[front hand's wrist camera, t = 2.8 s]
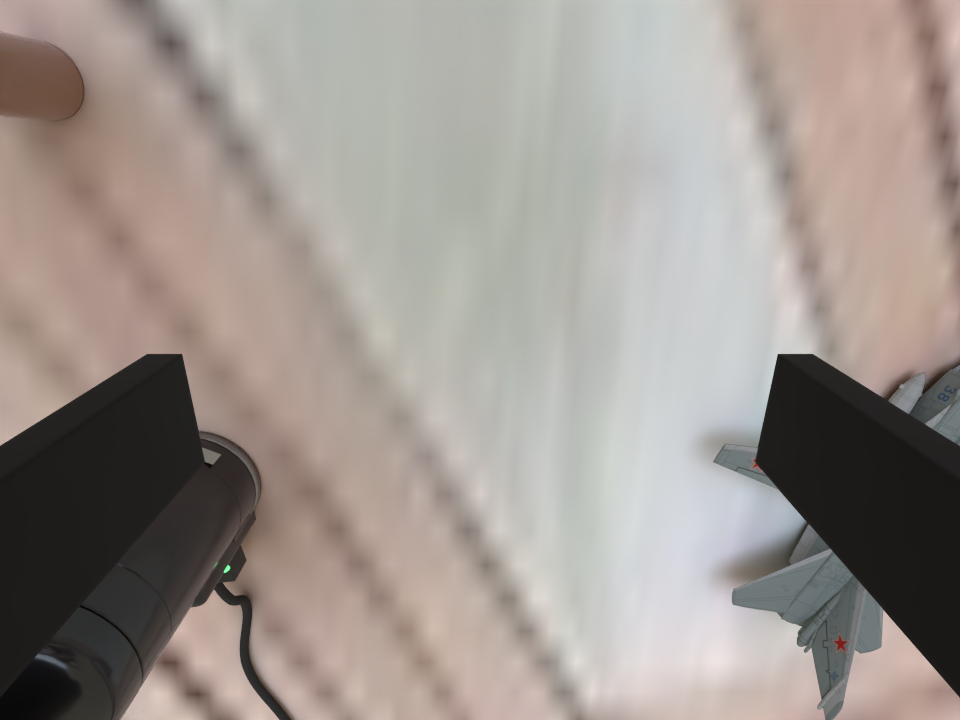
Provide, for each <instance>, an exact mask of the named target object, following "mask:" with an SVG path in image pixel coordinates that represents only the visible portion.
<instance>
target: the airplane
mask: <svg viewBox="0 0 960 720" xmlns="http://www.w3.org/2000/svg"><path fill="white" fill-rule="evenodd" d="M924 384H925V372H923V373H919V374H917V375H915V376H913V377H912V378H910V379H909V380H908V381H906V382H905V383H904V384H901V385H900V386H899V389H898V390H897V391H896V392H895V393H894V394H893V395H892V397H891V398H890V399H889V400H888V401H889V402H890V403H892V404H893V405H895V406H897V407H898V408H900V409H901V410H903V411H905V412H906V413H908V414H909V415H911V416H913V417H914V418H916V419H917V420H919V421H921V422H922V423H924V424H926V425H927V426H929V427H930V428H932V429H934V430H935V431H937V432H938V433H940V434H942V435H943V436H945V437H946V438H948V439H950V440H951V441H953V442H954V443H956V444H958V445H959V446H960V365H959V366H957V367H956V368H954V369H952V370H949V371H948V372H947V373H946V374H945V375H944V376H943V377H942V378H940V379H939V380H938V381H937V382H936V383H935V384H934V385H933V386H932V387H931V388H930V389H928V390H927V391H926V392H925V393H924V394H922V391H923V387H924ZM922 395H923V396H922ZM921 396H922V397H921ZM919 397H921V398H920V399H919V401H918V402H917V400H918V398H919ZM916 402H917V403H916ZM914 405H915V406H914ZM757 450H758V448H757V447H749V446H740V445H732V444H725V445H724V446H723V447H722V449H721V450H720V452H719V453H718V455H717V456H716V458H715V460H714V463H717V464H719V465H721V466H724V467H726V468H729V469H731V470H733V471H736V472H738V473H741V474H743V475H745V476H748V477H750V478H753V479H755V480H757V481H760V482H762V483H765V484H767V485H769V486H772V487H774V488H777V487H776V486H775V485H774V483H773V482H772V481H771V480H770V479H769V478H768V477H767V475H766V474H765V473H764V472H763V471H762V470H761V469H760V467H759V466H758V465H757V464H756V463H755V459H756V455H757ZM777 489H778V488H777ZM789 562H790V564H791V565H790V566H788V567H785V568H783V569H781V570H778V571H776V572H773V573H771V574H769V575H766V576H764V577H761V578H759V579H757V580H754V581H752V582H749V583H747V584H745V585H742V586H740V587H738V588H735V589H734V590H733V593H732V603H733V605H737V606H742V607H747V608H753V609H760V610H767V611H774V612H777V613H778V614H779V615H780V616H781V617H782V618H781V619H784V620H786V621H787V622H790V623H793V624H797V625H800V626H802V628H801V629H800V630H799V632H798V635H799V636H798V637H797V645H798V646H800V647H803V646H807V647H806V648H805V649H804V652H805V653H806V652H807V651H808V650H809V649H810V648H811V647H812V652H813V658H814V663H815V668H816V673H817V678H818V683H819V688H820V693H821V699H822V700H821V702H820V703H819V704H818V706H817V708H818V709H822V708H823V709H824V714H825V719H826V720H833V719H834V718H835V717H836V716H837V714H838V713H839V712H840V710H841V709H842V706H843V702H844V697H845V691H846V686H847V682H848V677H849V673H850V669H851V664H852V660H853V655H854V651H855V650H856V651H858V652H859V653H866V652H871V651H874V650H877V649H879V648H880V647H881V645H882V624H883V609H882V607H881V606H880V605H879V604H878V603H877V602H876V601H875V599H874V598H873V597H872V596H871V595H870V594H869V593H868V591H867V590H866V589H865V588H864V587H863V586H862V585H861V583H860V582H859V581H858V580H857V579H856V578H855V576H854V575H853V574H852V573H851V572H850V571H849V570H848V568H847V567H846V566H845V565H844V564H843V563H842V562H841V560H840V559H839V558H838V557H837V556H836V555H835V554H834V552H833V551H832V550H831V549H830V548H829V547H828V545H827V544H826V543H825V542H824V541H823V540H822V539H821V537H820V536H819V535H818V534H817V533H816V532H815V531H814V529H813V528H812V527H811V526H810V525H809V524H808V526H807V528H806V530H805V532H804V533H803V535H802V537H801V539H800V541H799V543H798V544H797V546H796V548H795V550H794V552H793V553H792V555H791V557H790V559H789Z"/></svg>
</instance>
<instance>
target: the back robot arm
mask: <svg viewBox="0 0 960 720" xmlns="http://www.w3.org/2000/svg"><path fill="white" fill-rule="evenodd" d="M199 436H200V440H201V445H202V450H203V455H204V459H205V463H204V464H203V465H202V466H201V467H200V469H199V470H198V471H197V472H196V473H195V474H194V475H193V477H192V478H191V479H190V480H189V481H188V482H187V483H186V485H185V486H184V487H183V488H182V489H181V490H180V491H179V493H178V494H177V495H176V496H175V497H174V498H173V500H172V501H171V502H170V503H169V504H168V505H167V506H166V508H165V509H164V510H163V511H162V512H161V513H160V514H159V516H158V517H157V518H156V519H155V520H154V521H153V523H152V524H151V525H150V526H149V527H148V528H147V529H146V531H145V532H144V533H143V534H142V535H141V536H140V537H139V539H138V540H137V541H136V542H135V543H134V544H133V545H132V547H131V548H130V549H129V550H128V551H127V552H126V554H125V555H124V556H123V557H122V558H121V559H120V560H119V562H118V563H117V564H116V565H115V566H114V567H113V568H112V570H111V571H110V572H109V573H108V574H107V575H106V576H105V578H104V579H103V580H102V581H101V582H100V583H99V585H98V586H97V587H96V588H95V589H94V590H93V591H92V593H91V594H90V595H89V596H88V597H87V598H86V599H85V601H84V602H83V603H82V604H81V605H80V606H79V607H78V609H77V610H76V611H75V612H74V613H73V614H72V616H71V617H70V618H69V619H68V620H67V621H66V622H65V624H64V625H63V626H62V627H61V628H60V629H59V630H58V632H57V633H56V634H55V635H54V636H53V637H52V638H51V640H50V641H49V642H48V643H47V644H46V645H45V647H44V648H43V649H42V650H41V651H40V652H39V653H38V655H37V656H36V657H35V658H34V659H33V660H32V661H31V663H30V664H29V665H28V666H27V667H26V668H25V669H24V671H23V672H22V673H21V674H20V675H19V676H18V678H17V679H16V680H15V681H14V682H13V683H12V684H11V686H10V687H9V688H8V689H7V690H6V691H5V692H4V694H3V695H2V696H1V697H0V720H121V719H122V717H123V715H124V714H125V712H126V711H127V709H128V707H129V706H130V704H131V703H132V701H133V699H134V698H135V696H136V695H137V693H138V691H139V689H140V688H141V686H142V684H143V683H144V681H145V680H146V678H147V676H148V675H149V673H150V672H151V670H152V668H153V667H154V665H155V664H156V662H157V660H158V659H159V657H160V656H161V654H162V652H163V651H164V649H165V647H166V646H167V644H168V643H169V641H170V639H171V638H172V636H173V635H174V633H175V631H176V630H177V628H178V627H179V625H180V623H181V622H182V620H183V619H184V617H185V615H186V614H187V612H188V611H189V609H190V608H191V607H197V606H201V605H203V604H204V603H205V602H206V601H207V599H208V598H209V596H210V594H211V593H212V591H213V589H214V590H215V591H216V592H217V594H218V595H219V596H220V597H221V598H222V599H223V600H224V601H225V602H226V603H228V604H229V605H241V607H242V611H243V623H242V631H241V638H240V658H241V663H242V667H243V670H244V672H245V674H246V676H247V678H248V680H249V682H250V684H251V685H252V687H253V688H254V689H255V691H256V692H257V693H258V695H259V696H260V697H261V698H262V699H263V701H264V702H265V703H266V704H267V705H268V706H269V707H270V709H271V710H272V711H273V712H274V713H275V715H276V716H277V717H278V718H279V720H291V719H290V718H289V717H288V715H287V714H286V713H285V711H284V710H283V709H282V708H281V706H280V705H279V704H278V703H277V702H276V700H275V699H274V698H273V697H272V696H271V695H270V693H269V692H268V691H267V690H266V689H265V687H264V686H263V685H262V683H261V682H260V680H259V679H258V677H257V675H256V674H255V671H254V669H253V667H252V665H251V661H250V658H249V648H248V645H249V633H250V626H251V617H252V608H251V604H250V601H249V599H248V598H247V597H246V596H243V595H239V596H234V595H233V594H232V593H231V592H229V590H228V589H227V588H226V587H225V586H224V584H223V583H222V582H230V581H235V580H236V578H237V576H238V575H239V573H240V571H241V569H242V567H243V566H244V564H245V562H246V558H245V555H244V552H243V550H242V547H241V543H242V541H243V540H244V538H245V536H246V535H247V533H248V531H249V530H250V528H251V526H252V525H253V523H254V521H255V520H256V518H255V515H254V511H253V510H254V509H255V507H256V505H257V503H258V501H259V498H260V493H261V484H260V478H259V475H258V472H257V470H256V468H255V466H254V464H253V463H252V461H251V460H250V459H249V457H248V456H247V455H246V454H245V453H244V452H243V451H242V450H241V449H240V448H238V447H237V446H236V445H234V444H233V443H231V442H229V441H227V440H226V439H223V438H221V437H219V436H216V435H213V434H209V433H203V432H199Z"/></svg>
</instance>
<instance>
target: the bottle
mask: <svg viewBox="0 0 960 720" xmlns="http://www.w3.org/2000/svg"><path fill="white" fill-rule="evenodd" d="M83 92H84V91H83V82H82V79H81V76H80V73H79V71H78V69H77V67H76V66H75V64H74V63H73V61H72V60H71V59H70V58H69V57H68V56H67V55H66V54H65V53H64V52H63V51H62V50H60V49H59V48H57V47H56V46H54V45H52V44H49V43H46V42H43V41H38V40H34V39H30V38H26V37H22V36H18V35H13V34H9V33H5V32H1V31H0V117H13V118H29V119H45V120H63V119H66V118H69V117H70V116H72V115H73V114H75V113H76V112H77V110H78V109H79V107H80V106H81V103H82V100H83Z"/></svg>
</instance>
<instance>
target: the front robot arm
mask: <svg viewBox="0 0 960 720" xmlns="http://www.w3.org/2000/svg"><path fill="white" fill-rule="evenodd" d="M204 463H205V459H204V455H203V450H202V445H201V440H200V436H199V431H198V426H197V422H196V417H195V412H194V408H193V403H192V398H191V394H190V389H189V384H188V380H187V375H186V370H185V366H184V361H183V356H182V354H147V355H145V356H143V357H142V358H140V359H139V360H137V361H135V362H134V363H132V364H131V365H129V366H127V367H126V368H124V369H123V370H121V371H119V372H118V373H116V374H115V375H113V376H111V377H110V378H108V379H107V380H105V381H103V382H102V383H100V384H99V385H97V386H95V387H94V388H92V389H91V390H89V391H87V392H86V393H84V394H83V395H81V396H79V397H78V398H76V399H75V400H73V401H71V402H70V403H68V404H67V405H65V406H63V407H62V408H60V409H59V410H57V411H55V412H54V413H52V414H51V415H49V416H47V417H46V418H44V419H43V420H41V421H39V422H38V423H36V424H35V425H33V426H31V427H30V428H28V429H26V430H25V431H23V432H22V433H20V434H18V435H17V436H15V437H14V438H12V439H10V440H9V441H7V442H6V443H4V444H2V445H1V446H0V697H1V696H2V695H3V694H4V692H5V691H6V690H7V689H8V688H9V687H10V686H11V684H12V683H13V682H14V681H15V680H16V679H17V678H18V676H19V675H20V674H21V673H22V672H23V671H24V669H25V668H26V667H27V666H28V665H29V664H30V663H31V661H32V660H33V659H34V658H35V657H36V656H37V655H38V653H39V652H40V651H41V650H42V649H43V648H44V647H45V645H46V644H47V643H48V642H49V641H50V640H51V638H52V637H53V636H54V635H55V634H56V633H57V632H58V630H59V629H60V628H61V627H62V626H63V625H64V624H65V622H66V621H67V620H68V619H69V618H70V617H71V616H72V614H73V613H74V612H75V611H76V610H77V609H78V607H79V606H80V605H81V604H82V603H83V602H84V601H85V599H86V598H87V597H88V596H89V595H90V594H91V593H92V591H93V590H94V589H95V588H96V587H97V586H98V585H99V583H100V582H101V581H102V580H103V579H104V578H105V576H106V575H107V574H108V573H109V572H110V571H111V570H112V568H113V567H114V566H115V565H116V564H117V563H118V562H119V560H120V559H121V558H122V557H123V556H124V555H125V554H126V552H127V551H128V550H129V549H130V548H131V547H132V545H133V544H134V543H135V542H136V541H137V540H138V539H139V537H140V536H141V535H142V534H143V533H144V532H145V531H146V529H147V528H148V527H149V526H150V525H151V524H152V523H153V521H154V520H155V519H156V518H157V517H158V516H159V514H160V513H161V512H162V511H163V510H164V509H165V508H166V506H167V505H168V504H169V503H170V502H171V501H172V500H173V498H174V497H175V496H176V495H177V494H178V493H179V491H180V490H181V489H182V488H183V487H184V486H185V485H186V483H187V482H188V481H189V480H190V479H191V478H192V477H193V475H194V474H195V473H196V472H197V471H198V470H199V469H200V467H201V466H202V465H203V464H204ZM755 463H756V464H757V465H758V466H759V467H760V469H761V470H762V471H763V472H764V473H765V474H766V475H767V477H768V478H769V479H770V480H771V481H772V482H773V483H774V485H775V486H776V487H777V488H778V489H779V490H780V491H781V493H782V494H783V495H784V496H785V497H786V498H787V500H788V501H789V502H790V503H791V504H792V505H793V506H794V508H795V509H796V510H797V511H798V512H799V513H800V514H801V516H802V517H803V518H804V519H805V520H806V521H807V523H808V524H809V525H810V526H811V527H812V528H813V529H814V531H815V532H816V533H817V534H818V535H819V536H820V537H821V539H822V540H823V541H824V542H825V543H826V544H827V545H828V547H829V548H830V549H831V550H832V551H833V552H834V554H835V555H836V556H837V557H838V558H839V559H840V560H841V562H842V563H843V564H844V565H845V566H846V567H847V568H848V570H849V571H850V572H851V573H852V574H853V575H854V576H855V578H856V579H857V580H858V581H859V582H860V583H861V585H862V586H863V587H864V588H865V589H866V590H867V591H868V593H869V594H870V595H871V596H872V597H873V598H874V599H875V601H876V602H877V603H878V604H879V605H880V606H881V607H882V609H883V610H884V611H885V612H886V613H887V614H888V616H889V617H890V618H891V619H892V620H893V621H894V622H895V624H896V625H897V626H898V627H899V628H900V629H901V630H902V632H903V633H904V634H905V635H906V636H907V637H908V638H909V640H910V641H911V642H912V643H913V644H914V645H915V647H916V648H917V649H918V650H919V651H920V652H921V653H922V655H923V656H924V657H925V658H926V659H927V660H928V661H929V663H930V664H931V665H932V666H933V667H934V668H935V669H936V671H937V672H938V673H939V674H940V675H941V676H942V678H943V679H944V680H945V681H946V682H947V683H948V684H949V686H950V687H951V688H952V689H953V690H954V691H955V692H956V694H957V695H958V696H959V697H960V446H959V445H958V444H956V443H954V442H953V441H951V440H950V439H948V438H946V437H945V436H943V435H942V434H940V433H938V432H937V431H935V430H934V429H932V428H930V427H929V426H927V425H926V424H924V423H922V422H921V421H919V420H917V419H916V418H914V417H913V416H911V415H909V414H908V413H906V412H905V411H903V410H901V409H900V408H898V407H897V406H895V405H893V404H892V403H890V402H889V401H887V400H885V399H884V398H882V397H881V396H879V395H877V394H876V393H874V392H873V391H871V390H869V389H868V388H866V387H865V386H863V385H861V384H860V383H858V382H857V381H855V380H853V379H852V378H850V377H849V376H847V375H845V374H844V373H842V372H841V371H839V370H837V369H836V368H834V367H833V366H831V365H829V364H828V363H826V362H825V361H823V360H821V359H820V358H818V357H817V356H815V355H813V354H778V356H777V361H776V366H775V370H774V375H773V380H772V384H771V389H770V394H769V398H768V403H767V408H766V412H765V417H764V422H763V426H762V431H761V436H760V440H759V445H758V450H757V455H756V459H755Z"/></svg>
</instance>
